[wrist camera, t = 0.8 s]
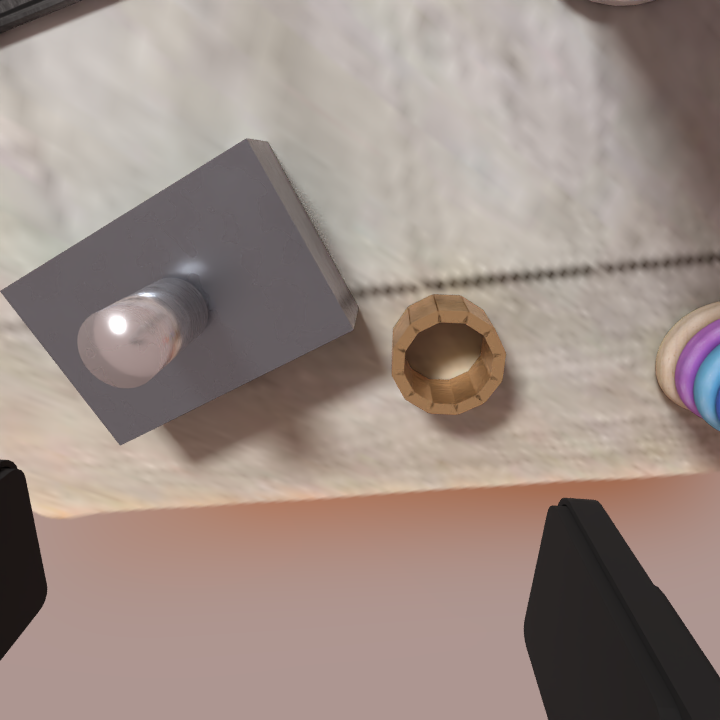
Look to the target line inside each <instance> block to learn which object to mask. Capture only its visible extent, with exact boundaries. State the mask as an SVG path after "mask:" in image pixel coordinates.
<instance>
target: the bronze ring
mask: <svg viewBox="0 0 720 720" xmlns="http://www.w3.org/2000/svg"><path fill="white" fill-rule="evenodd" d="M440 322H445V323H465V324H466V325H468V326H469V327H471V328H473V329H474V330H476V331H477V332H479V333H480V334H482V335H483V339H482V347H481V355H480V357H479V358H478V359H477V360H476V362H475V363H474V364H473V366H472V367H471V368H470V370H469V371H468V372H466V373H463V374H461V375H459V376H457V377H455V378H452V379H450V380H440V379H428V378H426V377H425V376H423V375H421V374H420V373H418V372H416V371H415V370H413V369H412V368H411V367H410V365H409V363H408V361H407V359H406V357H405V351H406V350H407V348H408V347H409V345H410V344H411V343H412V341H413V340H414V338H415V337H416V335H417V334H418V333H419V332H421V331H423V330H425V329H427V328H429V327H431V326H433V325H436V324H438V323H440ZM505 358H506V352H505V350H504V348H503V345H502V343H501V341H500V339H499V337H498V335H497V333H496V330H495V328H494V327H493V325H492V323H491V322H490V320H489V319H488V317H487V315H486V314H485V312H484V310H483V309H481V308H479V307H478V306H476V305H475V304H473V303H472V302H470V301H469V300H467V299H465V298H464V297H462V296H460V295H438V294H434V295H430V296H428V297H426V298H424V299H422V300H420V301H418V302H416V303H414V304H412V305H410V306H409V307H407V309H406V310H405V312H404V313H403V315H402V316H401V318H400V319H399V321H398V322H397V324H396V325H395V326H394V328H393V340H392V377H393V379H394V380H395V382H396V384H397V386H398V388H399V389H400V391H401V393H402V395H403V397H404V399H405V400H407V401H409V402H410V403H412V404H414V405H415V406H417V407H419V408H421V409H422V410H424V411H426V412H427V413H431V414H449V415H457V414H458V415H459V414H461V413H463V412H465V411H468V410H470V409H472V408H475V407H477V406H479V405H482V404H484V403H485V402H486V401H487V399H488V398H489V397H490V396H491V394H492V393H493V392H494V391H495V389H496V388H497V387H498V386H499V384H500V383H501V382H502V381H501V380H502V379H503V372H504V365H505ZM483 402H484V403H483Z"/></svg>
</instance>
